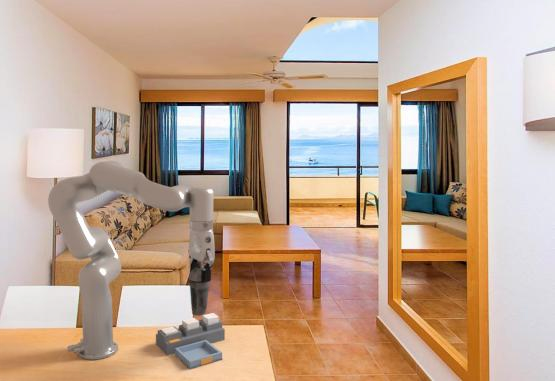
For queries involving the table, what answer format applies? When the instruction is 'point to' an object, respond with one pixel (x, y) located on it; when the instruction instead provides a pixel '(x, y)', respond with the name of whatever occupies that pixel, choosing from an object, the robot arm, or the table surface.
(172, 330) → the block
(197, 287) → the beverage cup
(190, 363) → the tray
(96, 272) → the robot arm
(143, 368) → the table surface
